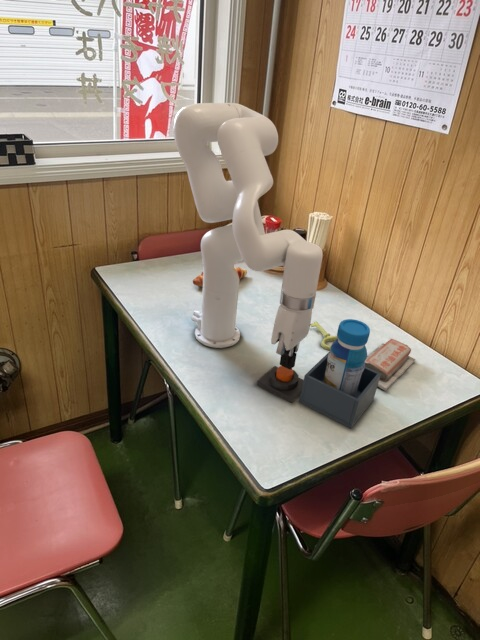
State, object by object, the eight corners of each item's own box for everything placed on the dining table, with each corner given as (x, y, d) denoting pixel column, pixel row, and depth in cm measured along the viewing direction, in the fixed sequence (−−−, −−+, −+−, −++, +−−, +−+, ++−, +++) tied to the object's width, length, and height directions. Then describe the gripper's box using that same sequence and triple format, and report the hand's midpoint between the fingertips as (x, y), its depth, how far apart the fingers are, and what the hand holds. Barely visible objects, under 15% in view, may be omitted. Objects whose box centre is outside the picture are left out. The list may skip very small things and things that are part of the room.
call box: (256, 384, 117) (258, 374, 115) (274, 370, 123) (275, 359, 121) (291, 403, 112) (293, 392, 111) (308, 386, 118) (310, 376, 116)
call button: (272, 377, 115) (273, 371, 114) (281, 369, 118) (282, 363, 117) (286, 384, 114) (288, 378, 113) (295, 376, 116) (296, 370, 115)
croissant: (240, 281, 171) (235, 259, 170) (256, 280, 162) (252, 256, 161) (188, 293, 159) (183, 270, 158) (203, 292, 151) (198, 267, 150)
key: (314, 326, 143) (315, 320, 141) (348, 345, 135) (349, 339, 134) (298, 334, 138) (299, 327, 137) (332, 354, 131) (334, 347, 130)
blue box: (299, 401, 113) (304, 375, 109) (324, 376, 122) (329, 350, 118) (351, 428, 107) (358, 401, 102) (373, 399, 116) (381, 373, 112)
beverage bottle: (352, 413, 109) (372, 341, 99) (316, 403, 111) (332, 331, 101) (357, 391, 116) (376, 321, 106) (323, 382, 118) (338, 313, 108)
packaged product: (385, 332, 133) (419, 348, 128) (381, 347, 136) (414, 362, 131) (354, 358, 121) (390, 376, 116) (350, 374, 124) (385, 392, 119)
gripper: (299, 281, 112) (289, 346, 121) (264, 304, 101) (256, 373, 110) (328, 292, 108) (315, 358, 118) (295, 317, 97) (284, 387, 107)
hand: (286, 365), depth 114 cm, fingers closed
